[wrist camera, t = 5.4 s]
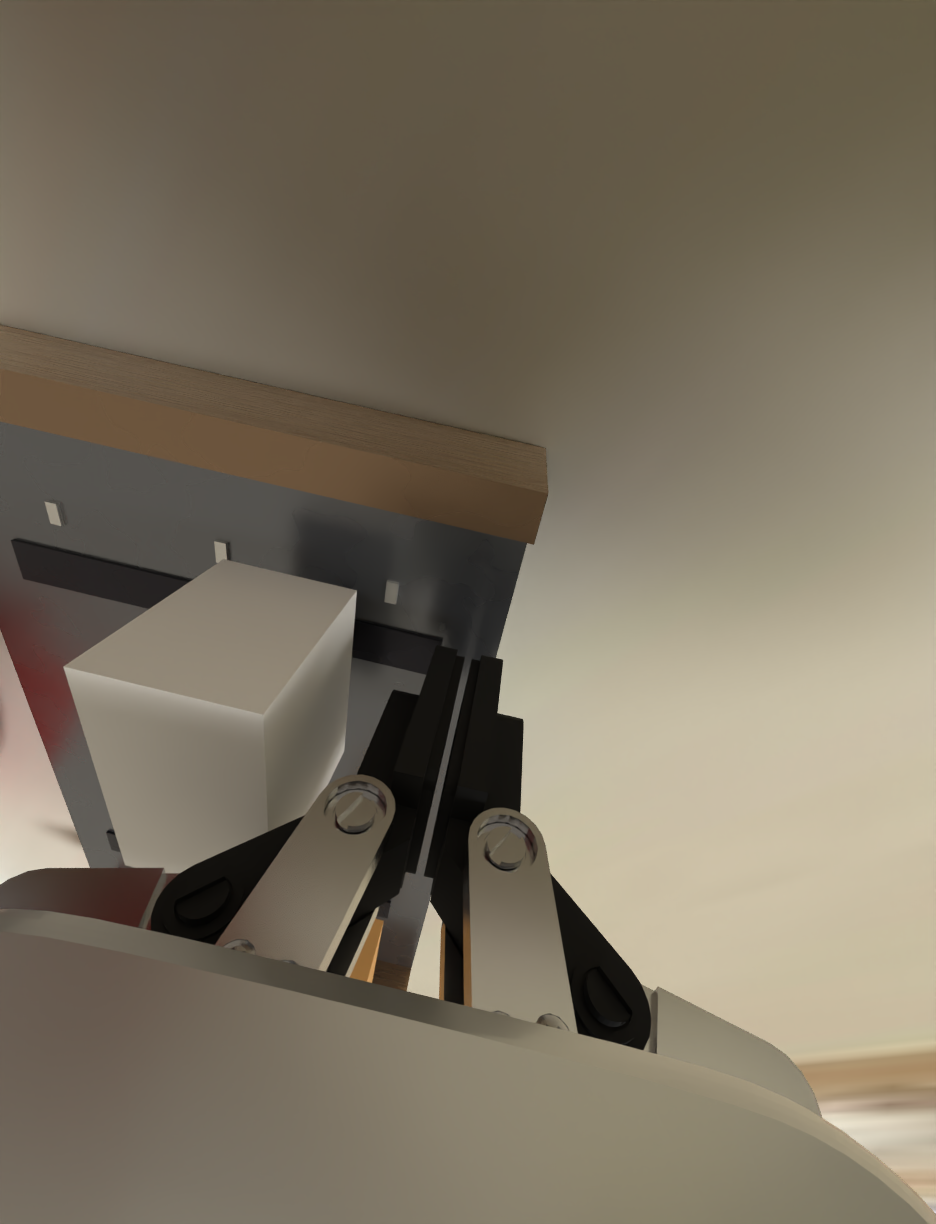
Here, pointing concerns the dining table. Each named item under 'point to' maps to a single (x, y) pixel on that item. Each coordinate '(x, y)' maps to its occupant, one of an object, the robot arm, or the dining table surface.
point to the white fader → (217, 711)
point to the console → (245, 540)
